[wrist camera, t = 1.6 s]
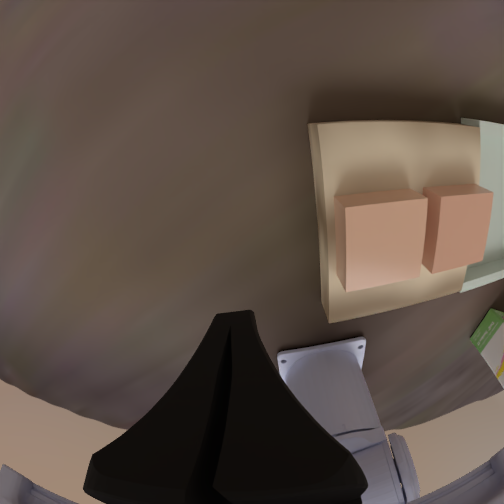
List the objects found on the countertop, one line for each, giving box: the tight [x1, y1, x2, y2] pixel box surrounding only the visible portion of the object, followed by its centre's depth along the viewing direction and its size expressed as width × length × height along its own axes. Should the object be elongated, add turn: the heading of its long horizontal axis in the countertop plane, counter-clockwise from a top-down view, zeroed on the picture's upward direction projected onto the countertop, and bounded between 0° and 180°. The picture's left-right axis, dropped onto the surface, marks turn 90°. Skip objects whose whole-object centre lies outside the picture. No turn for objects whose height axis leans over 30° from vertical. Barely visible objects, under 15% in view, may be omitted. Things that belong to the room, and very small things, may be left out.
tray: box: [459, 118, 504, 293], centre depth 16 cm, size 14×9×2 cm
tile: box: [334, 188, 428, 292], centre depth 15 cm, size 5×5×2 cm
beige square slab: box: [307, 120, 481, 323], centre depth 17 cm, size 13×12×2 cm
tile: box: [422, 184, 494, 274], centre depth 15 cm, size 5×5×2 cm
